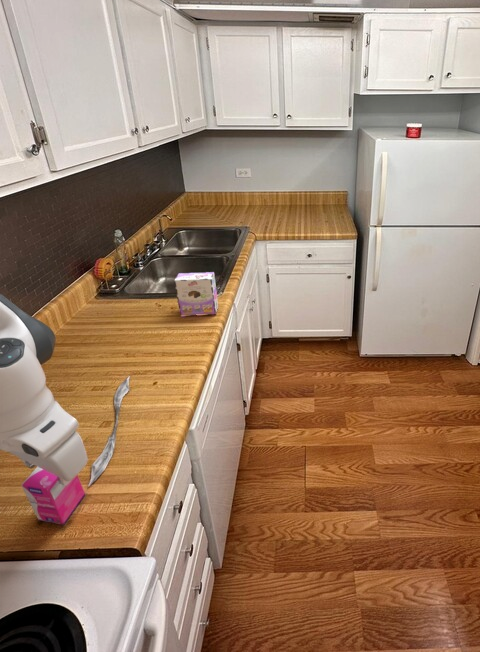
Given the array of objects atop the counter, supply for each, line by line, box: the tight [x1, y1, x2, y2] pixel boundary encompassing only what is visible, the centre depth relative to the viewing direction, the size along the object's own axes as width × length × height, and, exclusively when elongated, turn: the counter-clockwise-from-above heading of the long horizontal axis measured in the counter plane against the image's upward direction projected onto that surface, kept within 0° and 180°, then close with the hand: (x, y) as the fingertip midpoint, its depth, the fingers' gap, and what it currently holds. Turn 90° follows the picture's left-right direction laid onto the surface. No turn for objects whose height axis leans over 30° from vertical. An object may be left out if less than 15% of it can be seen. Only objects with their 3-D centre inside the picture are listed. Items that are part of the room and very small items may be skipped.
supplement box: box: [20, 466, 86, 526], centre depth 66 cm, size 6×6×12 cm
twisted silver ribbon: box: [87, 375, 131, 488], centre depth 86 cm, size 32×1×5 cm
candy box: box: [173, 271, 219, 318], centre depth 128 cm, size 14×6×16 cm, turn 94°
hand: (49, 472), depth 64 cm, fingers open, 8 cm apart
